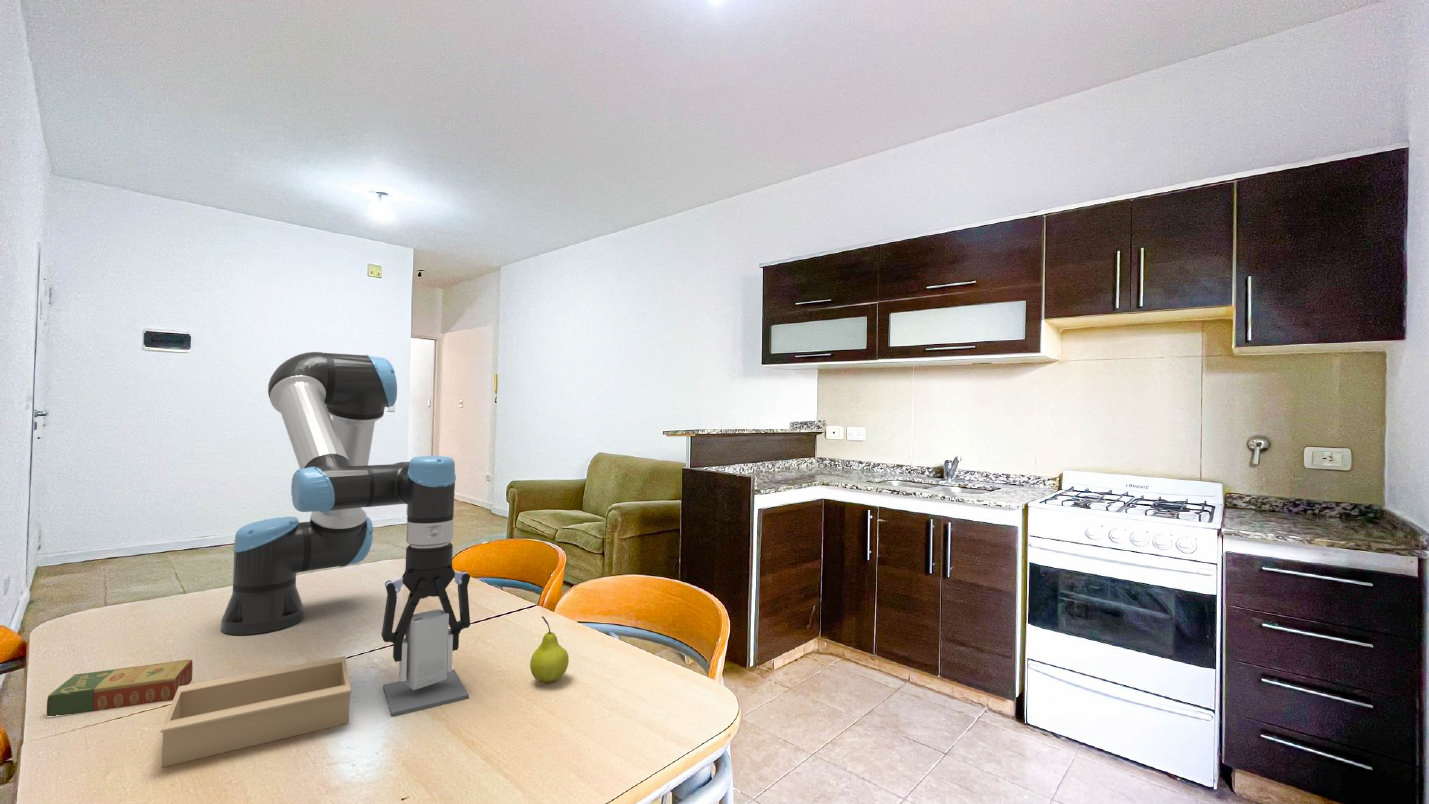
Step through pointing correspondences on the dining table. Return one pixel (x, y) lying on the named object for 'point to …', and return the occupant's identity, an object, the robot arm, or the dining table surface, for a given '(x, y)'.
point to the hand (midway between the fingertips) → (425, 673)
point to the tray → (255, 709)
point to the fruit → (549, 659)
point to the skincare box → (427, 648)
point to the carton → (119, 688)
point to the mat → (424, 694)
